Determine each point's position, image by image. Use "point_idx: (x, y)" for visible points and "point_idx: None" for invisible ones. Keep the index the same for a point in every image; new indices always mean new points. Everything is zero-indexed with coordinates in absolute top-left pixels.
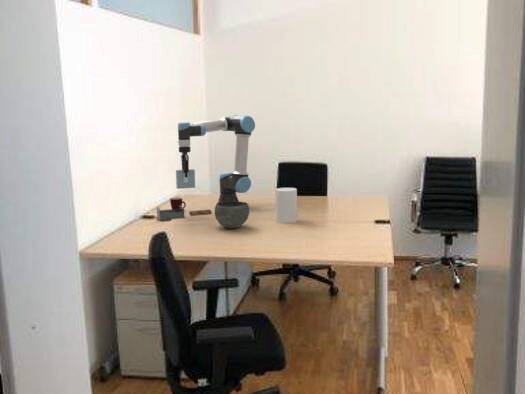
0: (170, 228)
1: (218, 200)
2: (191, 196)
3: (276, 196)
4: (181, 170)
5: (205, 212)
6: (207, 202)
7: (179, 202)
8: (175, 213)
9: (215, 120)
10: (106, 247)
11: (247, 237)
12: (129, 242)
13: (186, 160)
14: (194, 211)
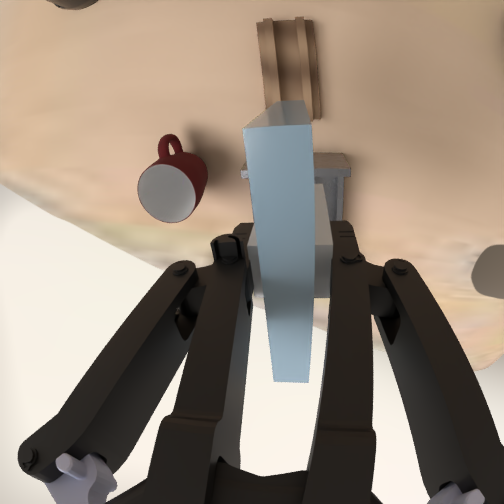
0: (461, 235)
1: (73, 4)
2: None
3: None
4: (310, 342)
5: (306, 46)
6: (38, 60)
7: (197, 173)
8: (342, 201)
9: None
10: (490, 350)
11: None
12: (495, 324)
13: (458, 470)
14: (279, 96)
